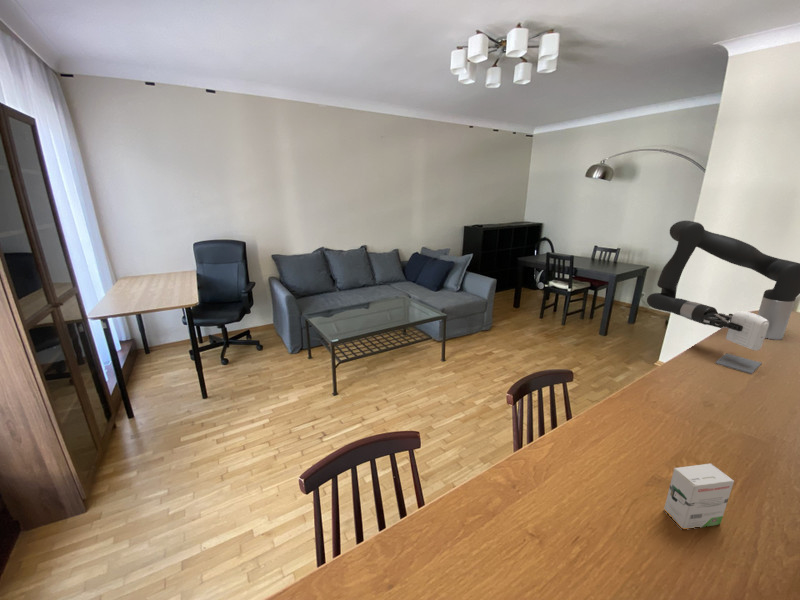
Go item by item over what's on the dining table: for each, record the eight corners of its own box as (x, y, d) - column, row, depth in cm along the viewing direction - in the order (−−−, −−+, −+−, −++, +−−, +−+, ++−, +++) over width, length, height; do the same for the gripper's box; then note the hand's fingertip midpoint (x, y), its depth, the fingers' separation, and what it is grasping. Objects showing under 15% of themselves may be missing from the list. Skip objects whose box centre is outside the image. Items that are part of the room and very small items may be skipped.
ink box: (698, 504, 72) (711, 461, 69) (722, 526, 68) (736, 480, 64) (661, 509, 72) (672, 465, 68) (682, 531, 67) (695, 486, 63)
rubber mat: (725, 354, 133) (726, 353, 133) (761, 364, 125) (761, 362, 125) (714, 363, 127) (715, 362, 127) (751, 374, 119) (751, 372, 119)
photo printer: (763, 350, 119) (774, 317, 115) (753, 351, 119) (763, 319, 115) (732, 338, 129) (741, 308, 125) (722, 339, 128) (731, 309, 124)
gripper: (686, 305, 135) (734, 320, 119) (713, 302, 138) (764, 316, 122) (681, 323, 137) (729, 339, 122) (709, 318, 140) (758, 334, 124)
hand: (746, 327), depth 122 cm, fingers closed on photo printer, 4 cm apart
